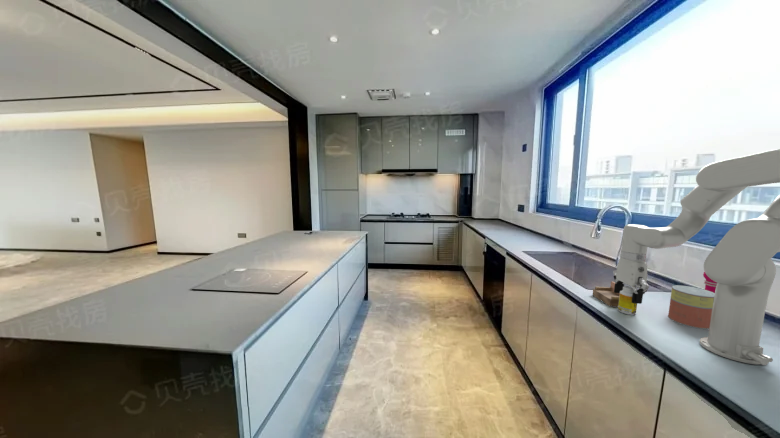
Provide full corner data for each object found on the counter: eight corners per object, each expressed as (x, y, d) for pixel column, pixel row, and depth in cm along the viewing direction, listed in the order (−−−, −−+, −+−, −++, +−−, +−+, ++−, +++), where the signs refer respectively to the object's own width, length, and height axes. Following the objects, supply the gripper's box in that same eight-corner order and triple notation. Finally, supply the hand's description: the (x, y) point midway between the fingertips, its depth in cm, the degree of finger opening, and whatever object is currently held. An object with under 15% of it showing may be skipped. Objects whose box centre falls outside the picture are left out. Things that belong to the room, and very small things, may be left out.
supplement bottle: (635, 316, 105) (638, 291, 104) (616, 312, 109) (619, 287, 108) (636, 312, 109) (639, 287, 108) (618, 307, 113) (621, 284, 112)
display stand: (630, 307, 113) (632, 291, 112) (610, 306, 114) (611, 290, 113) (611, 296, 125) (612, 281, 124) (592, 295, 126) (593, 280, 125)
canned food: (722, 331, 95) (727, 298, 94) (683, 327, 98) (688, 295, 96) (694, 316, 106) (698, 286, 105) (660, 313, 108) (663, 284, 107)
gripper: (662, 263, 97) (655, 308, 100) (627, 251, 114) (621, 290, 117) (639, 262, 98) (633, 306, 101) (607, 250, 115) (602, 288, 118)
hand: (627, 297), depth 109 cm, fingers open, 9 cm apart
